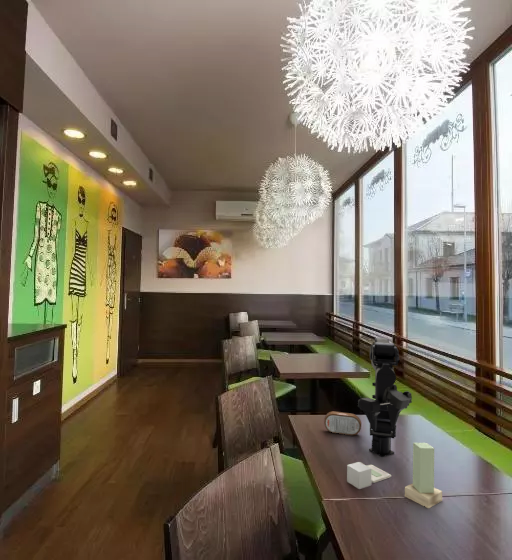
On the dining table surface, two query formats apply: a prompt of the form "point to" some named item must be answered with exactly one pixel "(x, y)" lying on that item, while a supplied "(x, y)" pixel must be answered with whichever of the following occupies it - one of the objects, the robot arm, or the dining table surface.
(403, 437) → the dining table surface
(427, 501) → the maple base
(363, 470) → the grey cube
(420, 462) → the sage block
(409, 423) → the dining table surface
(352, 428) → the tin
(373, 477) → the card
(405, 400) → the robot arm
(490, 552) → the dining table surface
